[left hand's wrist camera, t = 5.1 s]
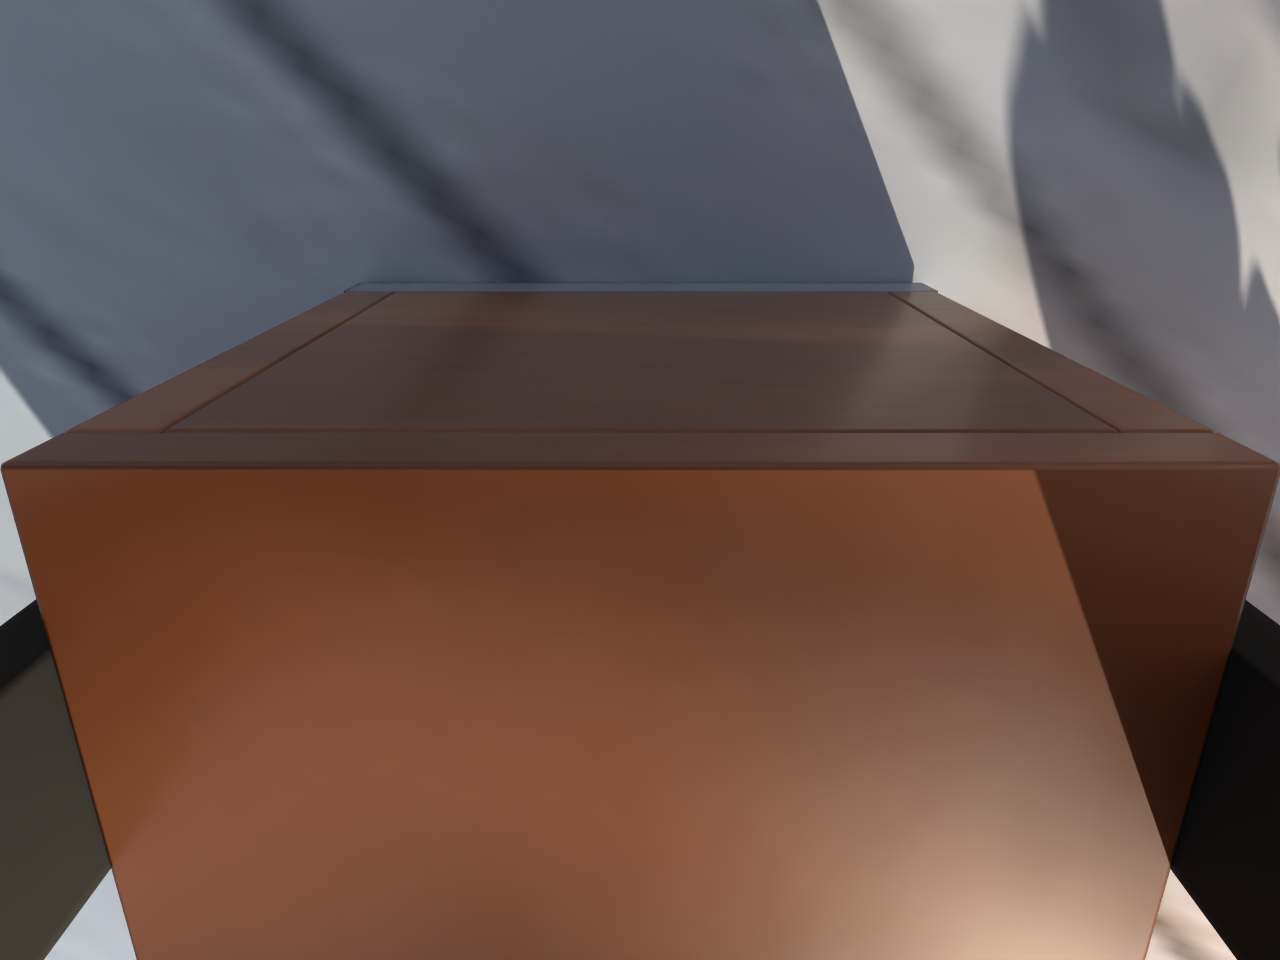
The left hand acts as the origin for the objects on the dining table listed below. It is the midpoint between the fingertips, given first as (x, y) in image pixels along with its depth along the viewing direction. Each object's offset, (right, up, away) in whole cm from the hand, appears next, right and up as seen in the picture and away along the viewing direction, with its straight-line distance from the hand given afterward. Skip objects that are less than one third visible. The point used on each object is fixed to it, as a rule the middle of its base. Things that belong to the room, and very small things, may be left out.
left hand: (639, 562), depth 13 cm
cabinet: (0, -2, +7) cm, 8 cm away
